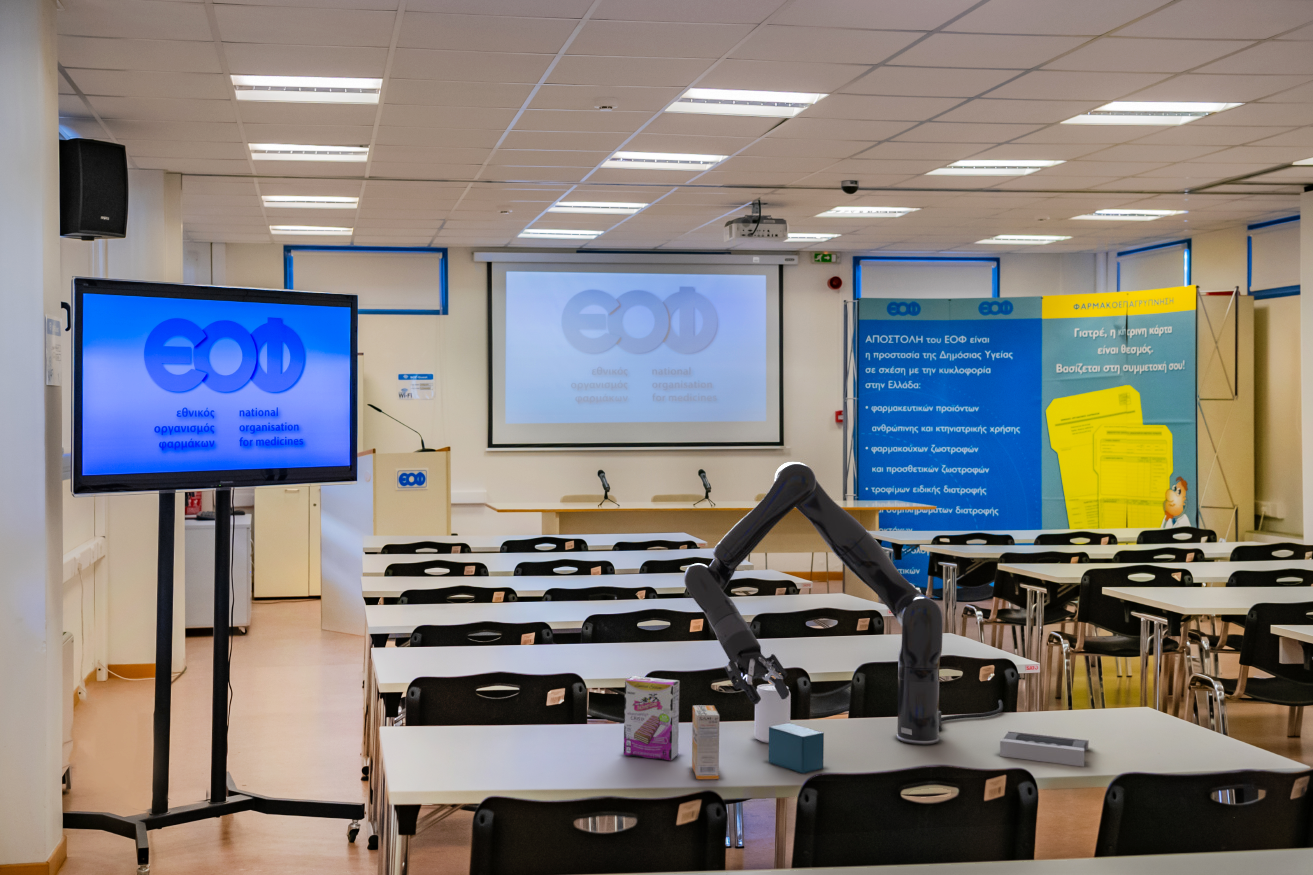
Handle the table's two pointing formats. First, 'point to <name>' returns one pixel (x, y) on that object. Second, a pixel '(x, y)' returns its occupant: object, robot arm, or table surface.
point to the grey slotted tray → (1044, 748)
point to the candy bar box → (651, 717)
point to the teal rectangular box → (796, 747)
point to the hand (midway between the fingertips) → (772, 699)
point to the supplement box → (705, 742)
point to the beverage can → (770, 711)
